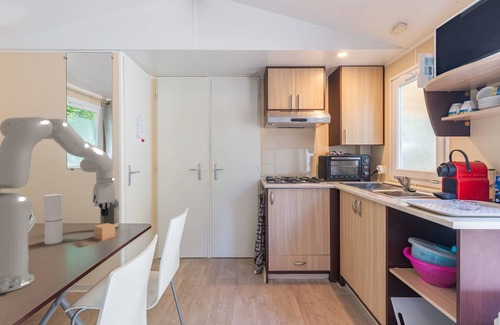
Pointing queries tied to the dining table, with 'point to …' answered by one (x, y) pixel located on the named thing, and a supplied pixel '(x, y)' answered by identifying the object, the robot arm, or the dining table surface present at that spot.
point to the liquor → (111, 215)
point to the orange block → (104, 231)
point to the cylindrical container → (53, 218)
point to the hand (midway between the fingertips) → (104, 215)
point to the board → (88, 242)
